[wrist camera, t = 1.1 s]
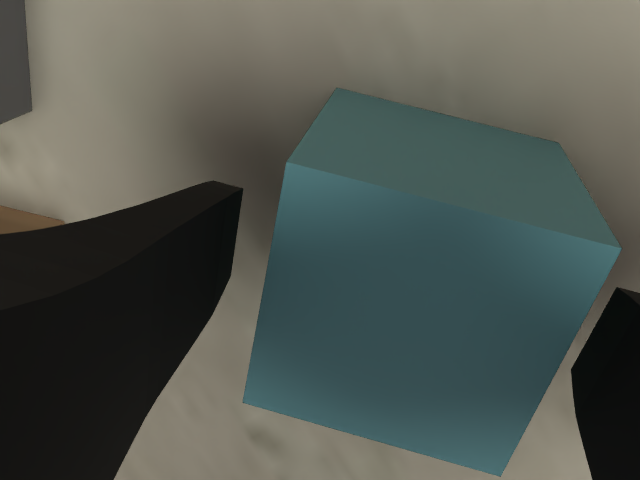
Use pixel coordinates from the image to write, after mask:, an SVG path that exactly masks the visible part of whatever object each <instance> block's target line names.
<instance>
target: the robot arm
mask: <svg viewBox="0 0 640 480" xmlns="http://www.w3.org/2000/svg"><path fill="white" fill-rule="evenodd" d="M242 194H243V188H239V187H235V186H231V185H228V184H224V183H220V182H216V181H209V182H205V183H202V184H198V185H195V186H192V187H189V188H186V189H183V190H181V191H178V192H175V193H172V194H169V195H166V196H163V197H160V198H157V199H155V200H152V201H149V202H146V203H143V204H140V205H136V206H133V207H130V208H126V209H123V210H119V211H116V212H112V213H109V214H105V215H102V216H99V217H95V218H91V219H87V220H83V221H78V222H74V223H69V224H64V225H59V226H54V227H48V228H43V229H37V230H31V231H23V232H15V233H6V234H0V480H114V478H115V476H116V474H117V472H118V470H119V468H120V466H121V464H122V462H123V460H124V458H125V456H126V454H127V452H128V450H129V448H130V446H131V444H132V442H133V440H134V439H135V437H136V435H137V433H138V431H139V429H140V427H141V425H142V423H143V421H144V419H145V417H146V416H147V414H148V412H149V411H150V409H151V408H152V406H153V404H154V403H155V401H156V399H157V398H158V396H159V395H160V393H161V392H162V390H163V389H164V387H165V386H166V384H167V383H168V381H169V380H170V378H171V377H172V375H173V374H174V372H175V371H176V369H177V368H178V366H179V365H180V363H181V362H182V360H183V359H184V357H185V356H186V354H187V353H188V351H189V350H190V348H191V347H192V345H193V344H194V342H195V341H196V339H197V338H198V336H199V335H200V333H201V332H202V330H203V329H204V327H205V325H206V324H207V322H208V321H209V319H210V318H211V316H212V315H213V312H214V310H215V308H216V306H217V304H218V302H219V300H220V298H221V296H222V294H223V292H224V289H225V287H226V285H227V283H228V281H229V279H230V276H231V270H232V263H233V256H234V249H235V242H236V235H237V228H238V221H239V215H240V208H241V201H242ZM571 375H572V387H573V398H574V406H575V414H576V419H577V423H578V427H579V431H580V435H581V439H582V443H583V446H584V450H585V454H586V458H587V461H588V465H589V469H590V472H591V476H592V479H593V480H640V293H637V292H633V291H629V290H626V289H622V288H618V287H616V289H615V291H614V293H613V295H612V296H611V298H610V300H609V302H608V304H607V306H606V307H605V309H604V311H603V313H602V315H601V316H600V318H599V320H598V322H597V324H596V325H595V327H594V329H593V331H592V333H591V334H590V336H589V338H588V340H587V342H586V344H585V345H584V347H583V349H582V351H581V353H580V354H579V356H578V358H577V360H576V362H575V363H574V365H573V367H572V369H571Z"/></svg>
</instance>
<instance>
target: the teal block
mask: <svg viewBox="0 0 640 480" xmlns="http://www.w3.org/2000/svg"><path fill="white" fill-rule="evenodd" d="M621 250H622V248H621V246H620V245H619V243H618V241H617V239H616V238H615V236H614V234H613V233H612V231H611V229H610V228H609V226H608V224H607V223H606V221H605V219H604V218H603V216H602V214H601V213H600V211H599V209H598V208H597V206H596V204H595V203H594V201H593V199H592V198H591V196H590V194H589V193H588V191H587V189H586V188H585V186H584V184H583V183H582V181H581V179H580V178H579V176H578V174H577V173H576V171H575V169H574V168H573V166H572V164H571V163H570V161H569V159H568V158H567V156H566V154H565V153H564V151H563V149H562V148H561V146H560V144H559V143H557V142H553V141H549V140H545V139H541V138H537V137H533V136H529V135H525V134H521V133H517V132H513V131H509V130H505V129H501V128H497V127H493V126H489V125H485V124H481V123H477V122H473V121H469V120H465V119H461V118H457V117H453V116H449V115H445V114H441V113H437V112H433V111H429V110H424V109H420V108H416V107H412V106H408V105H404V104H400V103H396V102H392V101H388V100H384V99H380V98H376V97H372V96H368V95H364V94H360V93H356V92H352V91H348V90H344V89H340V88H336V90H335V91H334V93H333V94H332V95H331V97H330V98H329V100H328V101H327V103H326V104H325V106H324V107H323V109H322V110H321V112H320V113H319V115H318V116H317V118H316V119H315V121H314V122H313V123H312V125H311V126H310V128H309V129H308V131H307V132H306V134H305V135H304V137H303V138H302V140H301V141H300V143H299V144H298V146H297V147H296V149H295V150H294V152H293V153H292V154H291V156H290V157H289V159H288V160H287V162H286V167H285V173H284V178H283V184H282V189H281V195H280V200H279V206H278V211H277V217H276V222H275V228H274V233H273V238H272V244H271V249H270V255H269V260H268V266H267V271H266V277H265V282H264V288H263V293H262V299H261V304H260V310H259V315H258V320H257V326H256V331H255V337H254V342H253V348H252V353H251V359H250V364H249V370H248V375H247V381H246V386H245V392H244V397H243V403H246V404H249V405H253V406H256V407H259V408H263V409H266V410H270V411H273V412H277V413H280V414H284V415H287V416H291V417H294V418H298V419H301V420H305V421H308V422H312V423H315V424H319V425H322V426H326V427H329V428H333V429H336V430H340V431H343V432H347V433H350V434H353V435H357V436H360V437H364V438H367V439H371V440H374V441H378V442H381V443H385V444H388V445H392V446H395V447H399V448H402V449H406V450H409V451H413V452H416V453H420V454H423V455H427V456H430V457H434V458H437V459H441V460H444V461H448V462H451V463H454V464H458V465H461V466H465V467H468V468H472V469H475V470H479V471H482V472H486V473H489V474H493V475H496V476H500V477H501V475H502V473H503V471H504V469H505V467H506V465H507V463H508V462H509V460H510V458H511V456H512V454H513V452H514V450H515V448H516V447H517V445H518V443H519V441H520V439H521V437H522V435H523V433H524V432H525V430H526V428H527V426H528V424H529V422H530V420H531V418H532V417H533V415H534V413H535V411H536V409H537V407H538V405H539V403H540V402H541V400H542V398H543V396H544V394H545V392H546V390H547V388H548V387H549V385H550V383H551V381H552V379H553V377H554V375H555V373H556V372H557V370H558V368H559V366H560V364H561V362H562V360H563V358H564V357H565V355H566V353H567V351H568V349H569V347H570V345H571V343H572V342H573V340H574V338H575V336H576V334H577V332H578V330H579V328H580V327H581V325H582V323H583V321H584V319H585V317H586V315H587V313H588V312H589V310H590V308H591V306H592V304H593V302H594V300H595V298H596V297H597V295H598V293H599V291H600V289H601V287H602V285H603V283H604V281H605V280H606V278H607V276H608V274H609V272H610V270H611V268H612V266H613V265H614V263H615V261H616V259H617V257H618V255H619V253H620V251H621Z"/></svg>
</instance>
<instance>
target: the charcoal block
mask: <svg viewBox="0 0 640 480" xmlns="http://www.w3.org/2000/svg"><path fill="white" fill-rule="evenodd" d="M30 111H32V102H31V87H30V73H29V59H28V45H27V31H26V17H25V2H24V0H0V124H2V123H4V122H7V121H9V120H11V119H14V118H16V117H18V116H21V115H23V114H25V113H28V112H30Z"/></svg>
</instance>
